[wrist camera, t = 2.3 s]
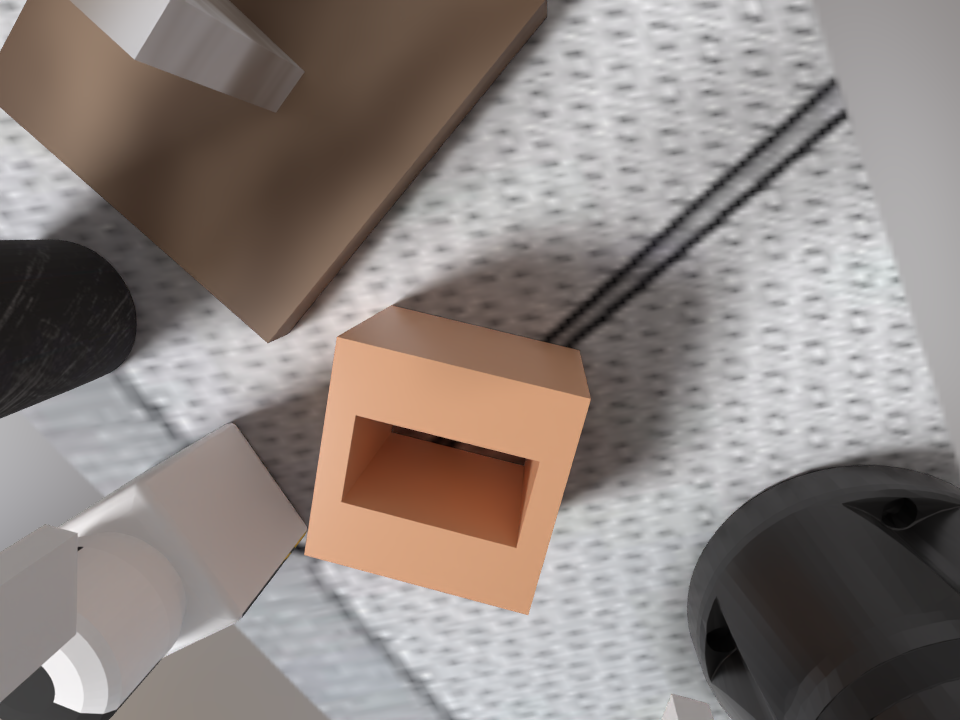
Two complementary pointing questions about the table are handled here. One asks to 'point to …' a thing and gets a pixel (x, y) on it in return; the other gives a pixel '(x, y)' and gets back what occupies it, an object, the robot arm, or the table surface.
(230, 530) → the medicine bottle
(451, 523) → the tan cube with window
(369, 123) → the stand
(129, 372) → the table surface
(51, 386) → the travel mug
